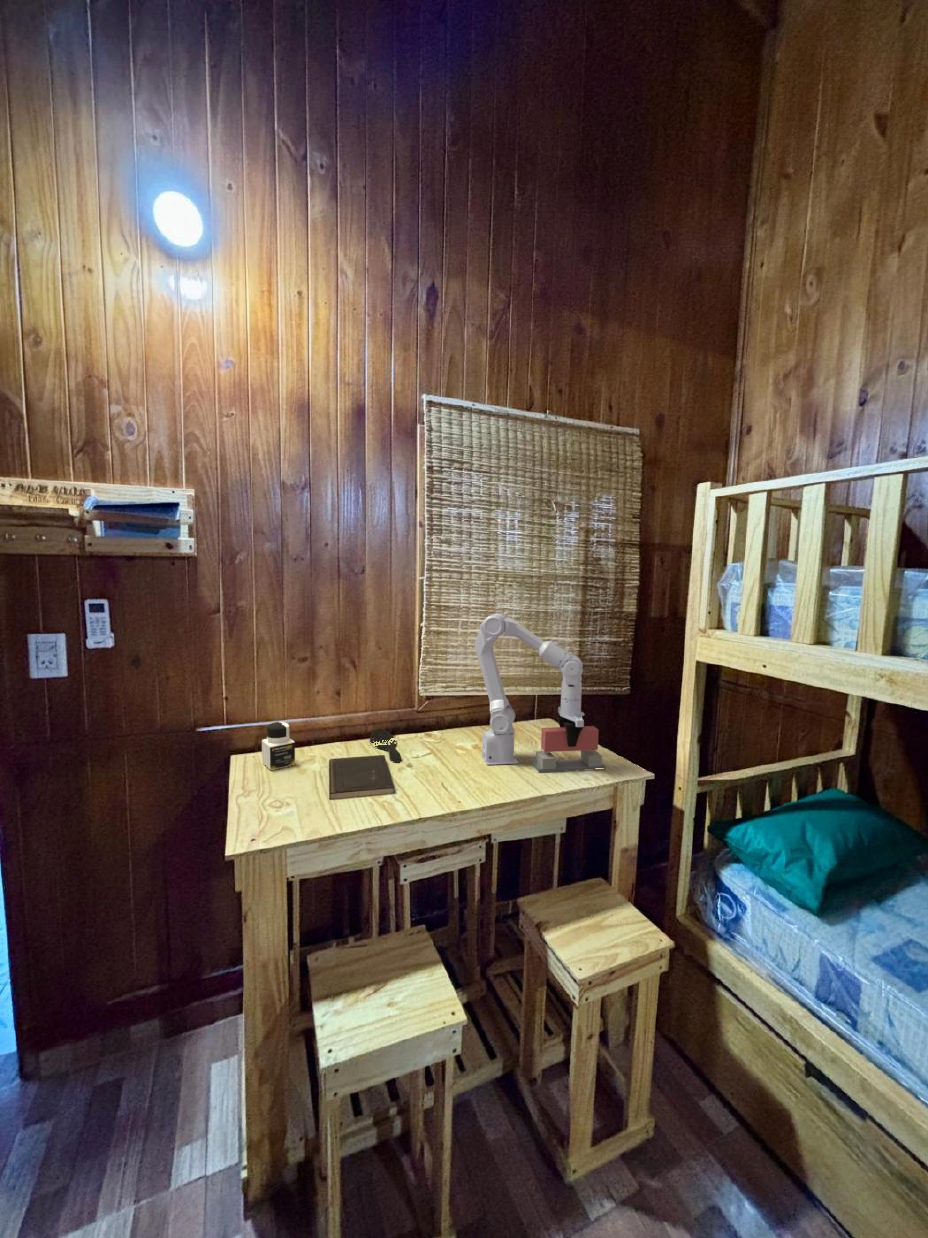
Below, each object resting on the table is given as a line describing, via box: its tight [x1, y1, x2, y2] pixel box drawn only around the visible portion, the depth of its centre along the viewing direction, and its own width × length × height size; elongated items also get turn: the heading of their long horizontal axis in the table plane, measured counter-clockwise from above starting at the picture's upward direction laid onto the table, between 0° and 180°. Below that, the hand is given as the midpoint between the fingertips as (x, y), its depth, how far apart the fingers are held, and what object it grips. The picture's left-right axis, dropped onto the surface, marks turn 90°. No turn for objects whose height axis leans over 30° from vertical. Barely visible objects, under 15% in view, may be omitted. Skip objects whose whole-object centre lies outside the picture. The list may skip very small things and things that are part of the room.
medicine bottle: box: [261, 721, 296, 771], centre depth 147 cm, size 7×7×12 cm
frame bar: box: [540, 725, 599, 753], centre depth 149 cm, size 16×4×6 cm, turn 99°
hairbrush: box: [369, 726, 402, 764], centre depth 162 cm, size 8×4×25 cm
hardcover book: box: [328, 754, 395, 800], centre depth 139 cm, size 16×23×2 cm
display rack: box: [531, 750, 606, 773], centre depth 149 cm, size 20×6×4 cm, turn 100°
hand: (569, 744), depth 149 cm, fingers closed on frame bar, 3 cm apart
